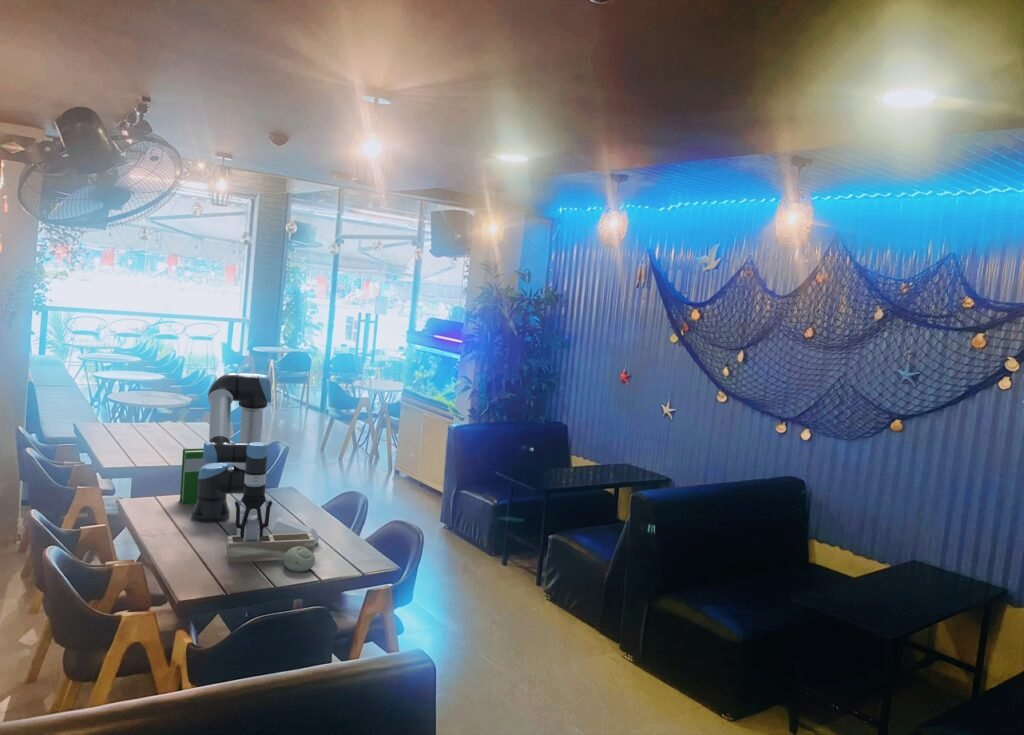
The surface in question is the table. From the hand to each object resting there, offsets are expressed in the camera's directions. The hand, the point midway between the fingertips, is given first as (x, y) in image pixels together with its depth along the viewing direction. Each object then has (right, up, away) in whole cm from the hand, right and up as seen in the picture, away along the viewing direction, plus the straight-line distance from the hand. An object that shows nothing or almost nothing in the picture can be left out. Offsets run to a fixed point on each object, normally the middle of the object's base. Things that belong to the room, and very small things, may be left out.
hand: (250, 545), depth 272 cm
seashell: (+19, -7, -6) cm, 21 cm away
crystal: (+9, -4, +25) cm, 27 cm away
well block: (+6, -5, +3) cm, 9 cm away
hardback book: (-46, +5, +64) cm, 79 cm away
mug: (-9, -2, +21) cm, 23 cm away
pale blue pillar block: (0, 0, 0) cm, 0 cm away
